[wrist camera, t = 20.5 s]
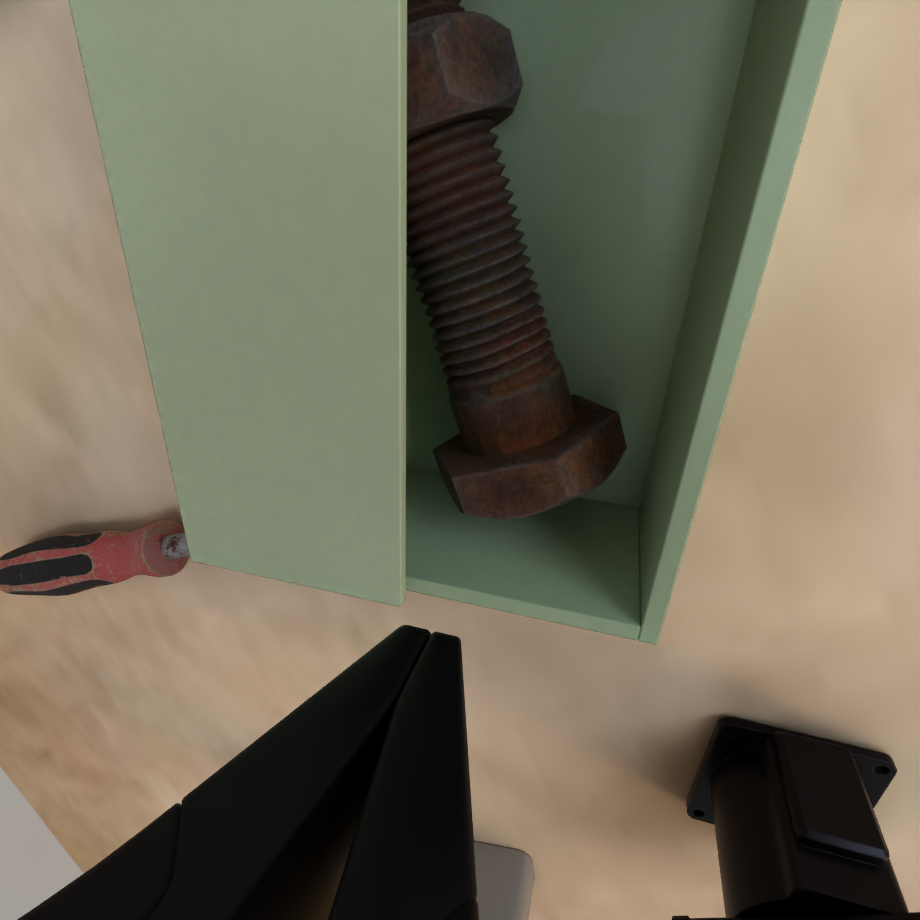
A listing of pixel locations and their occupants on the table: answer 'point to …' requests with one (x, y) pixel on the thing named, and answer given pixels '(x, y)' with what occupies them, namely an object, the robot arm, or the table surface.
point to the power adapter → (503, 882)
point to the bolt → (487, 282)
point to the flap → (268, 269)
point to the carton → (623, 283)
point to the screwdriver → (93, 559)
